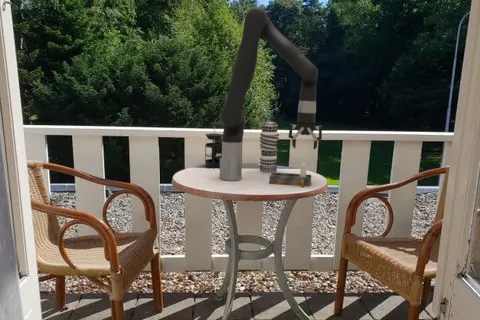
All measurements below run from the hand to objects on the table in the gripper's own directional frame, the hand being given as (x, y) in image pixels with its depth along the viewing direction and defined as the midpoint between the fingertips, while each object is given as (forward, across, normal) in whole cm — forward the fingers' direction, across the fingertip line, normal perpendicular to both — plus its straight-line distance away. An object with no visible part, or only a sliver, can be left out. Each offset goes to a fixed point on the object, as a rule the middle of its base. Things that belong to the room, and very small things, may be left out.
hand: (304, 148), depth 183 cm
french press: (+17, +46, -23) cm, 54 cm away
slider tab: (+14, 0, 0) cm, 14 cm away
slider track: (+16, +5, 0) cm, 17 cm away
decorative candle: (+16, +17, -18) cm, 30 cm away
